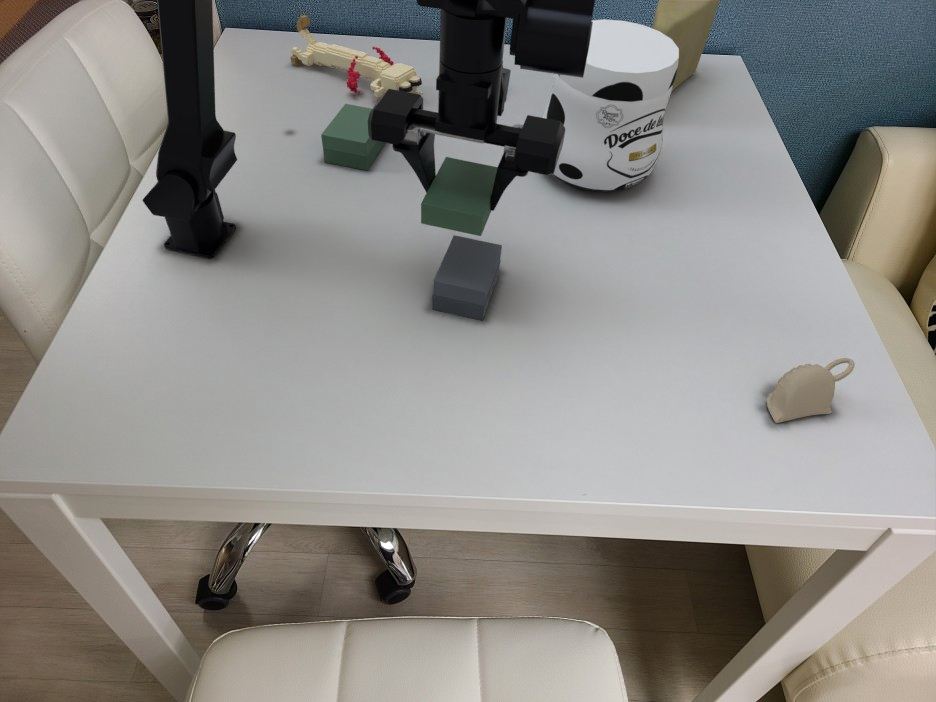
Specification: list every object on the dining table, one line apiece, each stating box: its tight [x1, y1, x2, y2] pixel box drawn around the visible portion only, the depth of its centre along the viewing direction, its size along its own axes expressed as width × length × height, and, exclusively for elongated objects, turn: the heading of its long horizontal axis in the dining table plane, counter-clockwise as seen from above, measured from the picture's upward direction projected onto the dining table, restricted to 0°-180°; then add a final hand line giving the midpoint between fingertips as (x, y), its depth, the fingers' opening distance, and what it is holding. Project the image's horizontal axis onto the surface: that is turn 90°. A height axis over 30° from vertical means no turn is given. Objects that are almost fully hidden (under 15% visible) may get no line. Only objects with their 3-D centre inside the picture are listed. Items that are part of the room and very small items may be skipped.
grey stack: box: [431, 234, 503, 321], centre depth 78 cm, size 8×6×4 cm
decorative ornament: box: [766, 357, 856, 424], centre depth 69 cm, size 4×8×5 cm, turn 102°
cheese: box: [651, 0, 720, 93], centre depth 109 cm, size 22×10×15 cm, turn 154°
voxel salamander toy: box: [289, 14, 424, 99], centre depth 109 cm, size 10×9×25 cm
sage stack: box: [320, 103, 386, 171], centre depth 97 cm, size 9×6×4 cm
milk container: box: [541, 18, 679, 193], centre depth 92 cm, size 17×17×18 cm
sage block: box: [420, 156, 498, 237], centre depth 72 cm, size 9×6×3 cm
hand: (462, 201), depth 72 cm, fingers closed on sage block, 6 cm apart
